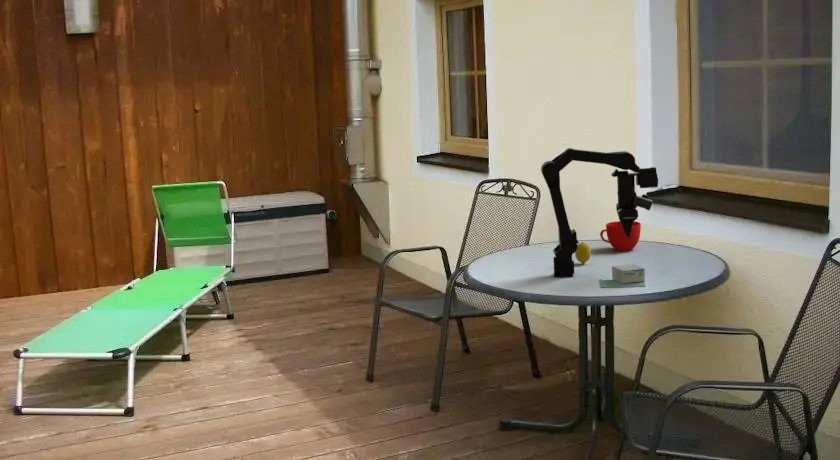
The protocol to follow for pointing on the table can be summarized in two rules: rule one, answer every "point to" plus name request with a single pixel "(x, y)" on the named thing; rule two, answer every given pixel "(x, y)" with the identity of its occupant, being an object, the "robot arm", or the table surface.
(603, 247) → the table surface
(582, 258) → the lemon
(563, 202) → the robot arm
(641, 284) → the mat
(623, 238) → the ceramic cup
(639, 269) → the medicine box
